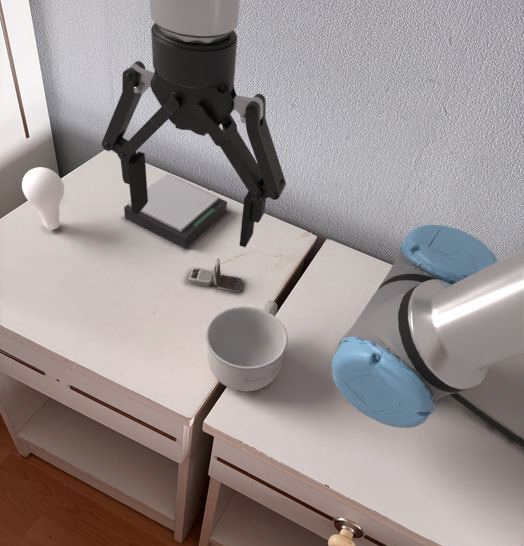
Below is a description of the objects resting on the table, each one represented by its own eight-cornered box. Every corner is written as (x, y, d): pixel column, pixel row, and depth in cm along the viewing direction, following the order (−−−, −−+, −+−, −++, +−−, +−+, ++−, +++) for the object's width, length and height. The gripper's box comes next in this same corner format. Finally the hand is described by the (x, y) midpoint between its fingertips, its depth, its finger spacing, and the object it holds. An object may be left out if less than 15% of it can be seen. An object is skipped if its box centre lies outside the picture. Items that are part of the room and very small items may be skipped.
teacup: (248, 415, 69) (254, 382, 63) (188, 371, 72) (188, 335, 66) (305, 355, 77) (316, 320, 71) (248, 317, 80) (254, 280, 74)
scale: (226, 212, 96) (227, 198, 93) (185, 249, 88) (185, 235, 86) (169, 185, 98) (169, 171, 96) (125, 218, 91) (123, 204, 89)
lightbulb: (54, 211, 90) (41, 154, 81) (79, 227, 88) (68, 171, 79) (25, 228, 86) (8, 170, 78) (51, 245, 84) (36, 187, 76)
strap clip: (187, 283, 83) (187, 263, 80) (192, 270, 85) (192, 251, 82) (239, 293, 83) (241, 274, 80) (242, 280, 85) (245, 261, 82)
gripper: (341, 45, 46) (300, 235, 62) (87, -20, 48) (112, 178, 65) (321, 78, 41) (282, 273, 57) (41, 4, 44) (81, 211, 60)
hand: (192, 223), depth 61 cm, fingers open, 13 cm apart
